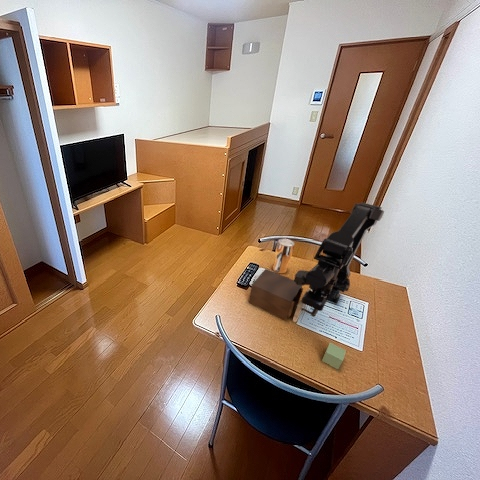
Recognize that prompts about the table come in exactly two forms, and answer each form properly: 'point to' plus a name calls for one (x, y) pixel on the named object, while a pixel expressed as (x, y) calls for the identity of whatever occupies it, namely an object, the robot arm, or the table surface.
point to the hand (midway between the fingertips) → (313, 307)
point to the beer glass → (283, 255)
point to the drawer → (299, 306)
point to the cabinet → (273, 293)
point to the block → (334, 355)
